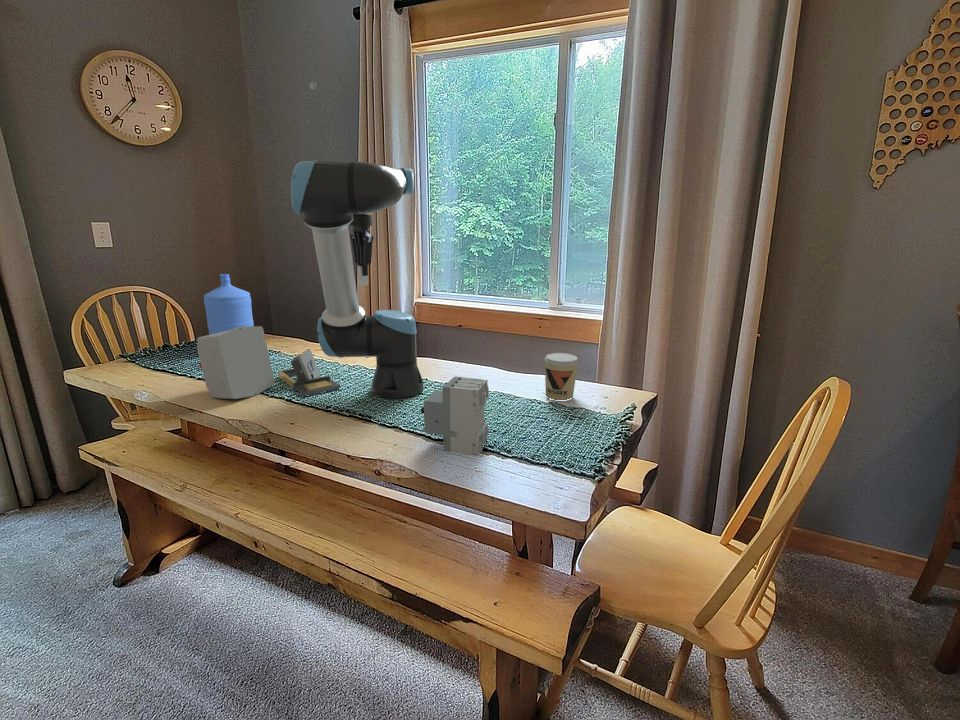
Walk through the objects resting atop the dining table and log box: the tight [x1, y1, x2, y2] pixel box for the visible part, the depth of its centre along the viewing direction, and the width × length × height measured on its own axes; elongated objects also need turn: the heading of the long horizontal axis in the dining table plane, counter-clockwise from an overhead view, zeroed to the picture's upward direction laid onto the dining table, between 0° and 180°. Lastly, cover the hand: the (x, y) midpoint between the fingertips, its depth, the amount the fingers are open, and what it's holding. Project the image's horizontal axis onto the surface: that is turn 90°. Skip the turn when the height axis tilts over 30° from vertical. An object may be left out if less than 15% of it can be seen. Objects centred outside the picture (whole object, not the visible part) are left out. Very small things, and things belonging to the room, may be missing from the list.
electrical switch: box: [290, 349, 321, 382], centre depth 155 cm, size 9×5×9 cm, turn 1°
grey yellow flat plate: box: [277, 368, 342, 397], centre depth 154 cm, size 22×11×2 cm, turn 39°
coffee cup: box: [544, 352, 579, 400], centre depth 143 cm, size 9×9×12 cm
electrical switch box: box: [196, 325, 276, 400], centre depth 144 cm, size 15×15×20 cm
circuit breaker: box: [420, 376, 490, 456], centre depth 113 cm, size 8×14×15 cm, turn 73°
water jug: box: [203, 273, 255, 335], centre depth 187 cm, size 16×16×28 cm
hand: (364, 285), depth 172 cm, fingers closed
